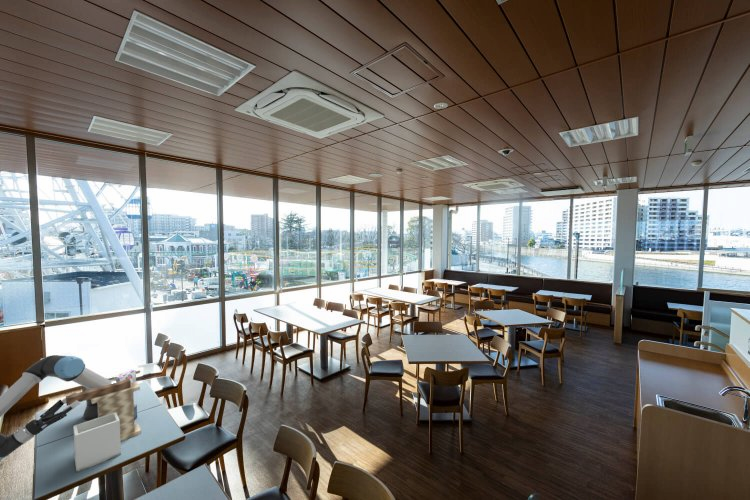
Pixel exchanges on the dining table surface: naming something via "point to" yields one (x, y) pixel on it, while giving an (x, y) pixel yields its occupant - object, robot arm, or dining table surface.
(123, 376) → the candy box
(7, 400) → the robot arm
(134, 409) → the flask
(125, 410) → the birch pedestal
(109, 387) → the walnut block
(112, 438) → the white open box
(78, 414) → the dining table surface
